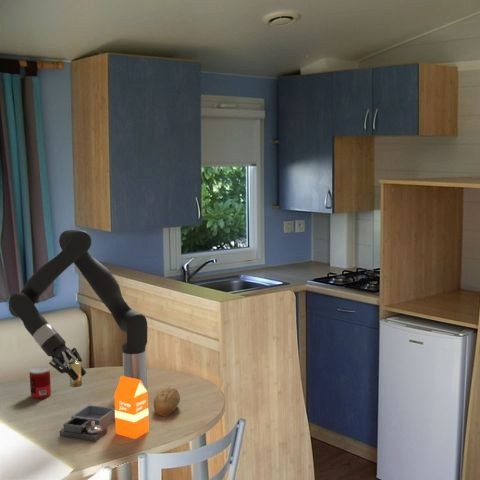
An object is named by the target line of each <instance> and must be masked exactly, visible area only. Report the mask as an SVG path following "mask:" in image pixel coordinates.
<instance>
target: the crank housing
mask: <svg viewBox="0 0 480 480" xmlns="http://www.w3.org/2000/svg"><path fill="white" fill-rule="evenodd" d="M58 433H59V437H61V438H67V439H72V440H73V439H74V440H78V441H85V442H92V443H95V442H97V441H98V440H100V438H102V437H103V436H105V435H106V434H108V429H107V426H106V427H101V426H100V425H95V421H92V419H87V418H81V417H74V418H72V419H69V420H68V421H66V422H64V424H63V428H62V429H60V430H59V431H58Z"/></svg>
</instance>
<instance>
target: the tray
mask: <svg viewBox="0 0 480 480" xmlns="http://www.w3.org/2000/svg"><path fill="white" fill-rule="evenodd" d="M74 417H81V418H87V419H92V421H95V425H100V426H101V427H107V426H109V425H110V424H112V423H113V422H114V421H115V407H114V408H113V407H107V406H100V405H93V404H88V405H87V406H84V407H83V408H82V409H80V410H79V411H77V412H76V413H74V414H72V415H71V417H70V418H71V419H72V418H74ZM71 419H70V420H71Z"/></svg>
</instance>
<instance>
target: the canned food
mask: <svg viewBox="0 0 480 480" xmlns="http://www.w3.org/2000/svg"><path fill="white" fill-rule="evenodd" d="M50 369H51V368H50V367H48V366H44V365H43V366H35V367H33V368H31V369H29V386H30V396H31V398H32V399H34V400H42V399H46V398H49V397H50V396H51V395H52V387H51V386H52V385H51V370H50Z"/></svg>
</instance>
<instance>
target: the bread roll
mask: <svg viewBox="0 0 480 480" xmlns="http://www.w3.org/2000/svg"><path fill="white" fill-rule="evenodd" d="M180 401H181V395H180V393H179V391H178V390H177V389H176V388H171V387H170V388H162V389H161V390H159V391H158V392H157V393H156V395H155V396H154V400H153V408H154V411H155V413H156V414H157V415H159V416H162V417H166V416H168V415H171V414H172V413H174V411H175V410H176V408H178V405H179V403H180Z"/></svg>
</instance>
